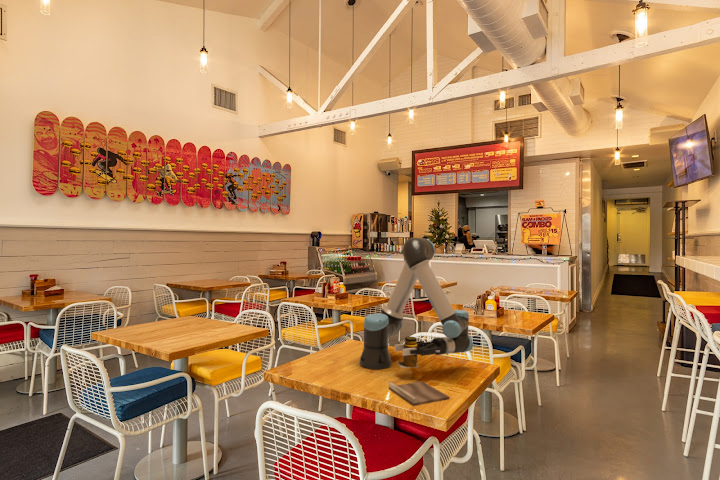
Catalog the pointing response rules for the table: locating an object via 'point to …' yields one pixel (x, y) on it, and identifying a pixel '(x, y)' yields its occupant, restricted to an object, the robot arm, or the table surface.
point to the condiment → (409, 359)
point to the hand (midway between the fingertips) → (398, 350)
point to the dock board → (418, 392)
